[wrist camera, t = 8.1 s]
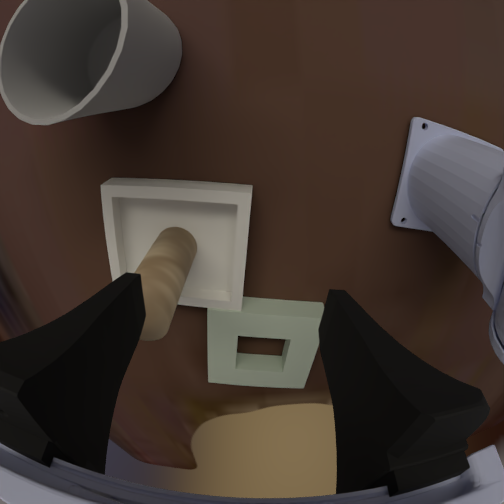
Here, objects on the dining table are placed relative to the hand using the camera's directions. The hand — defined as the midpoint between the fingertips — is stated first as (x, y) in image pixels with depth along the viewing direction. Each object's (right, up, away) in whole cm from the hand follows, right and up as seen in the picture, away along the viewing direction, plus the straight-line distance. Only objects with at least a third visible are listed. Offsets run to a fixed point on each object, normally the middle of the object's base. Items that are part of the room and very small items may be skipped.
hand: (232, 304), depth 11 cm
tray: (-5, +3, +10) cm, 12 cm away
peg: (-5, +2, +10) cm, 11 cm away
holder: (+2, -6, +15) cm, 16 cm away
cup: (-8, +15, +4) cm, 18 cm away
